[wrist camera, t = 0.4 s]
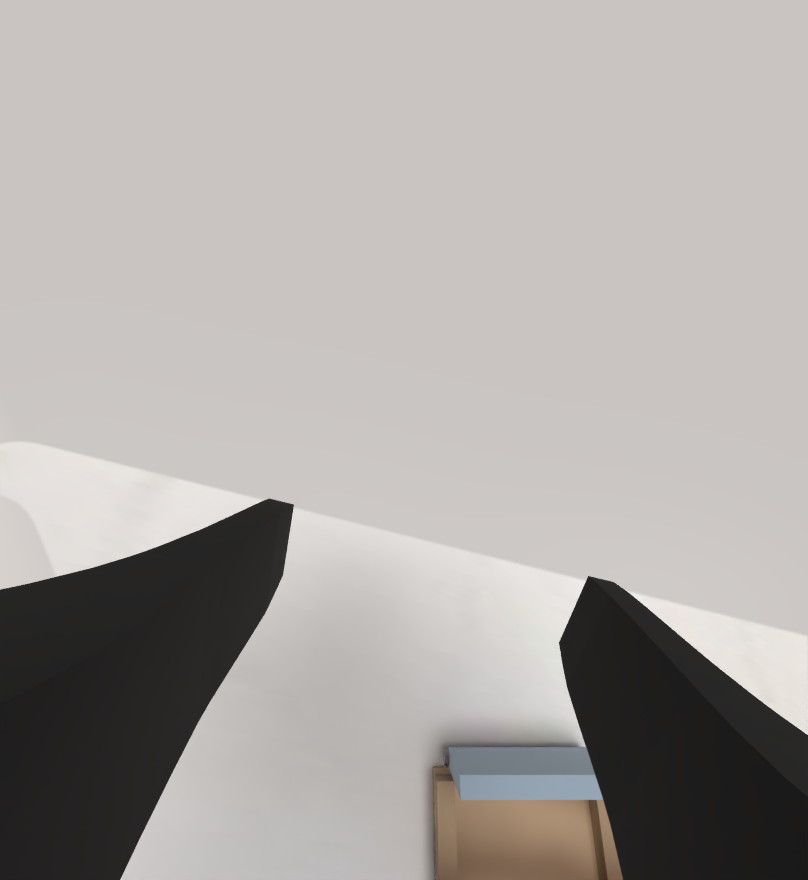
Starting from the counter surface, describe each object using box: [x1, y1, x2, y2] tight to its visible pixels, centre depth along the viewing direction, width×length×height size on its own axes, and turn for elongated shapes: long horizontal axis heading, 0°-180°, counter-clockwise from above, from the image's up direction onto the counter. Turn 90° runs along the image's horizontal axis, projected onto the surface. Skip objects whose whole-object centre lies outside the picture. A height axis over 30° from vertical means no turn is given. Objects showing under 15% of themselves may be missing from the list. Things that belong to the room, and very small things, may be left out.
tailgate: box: [444, 747, 603, 800], centre depth 28 cm, size 1×11×6 cm, turn 90°
